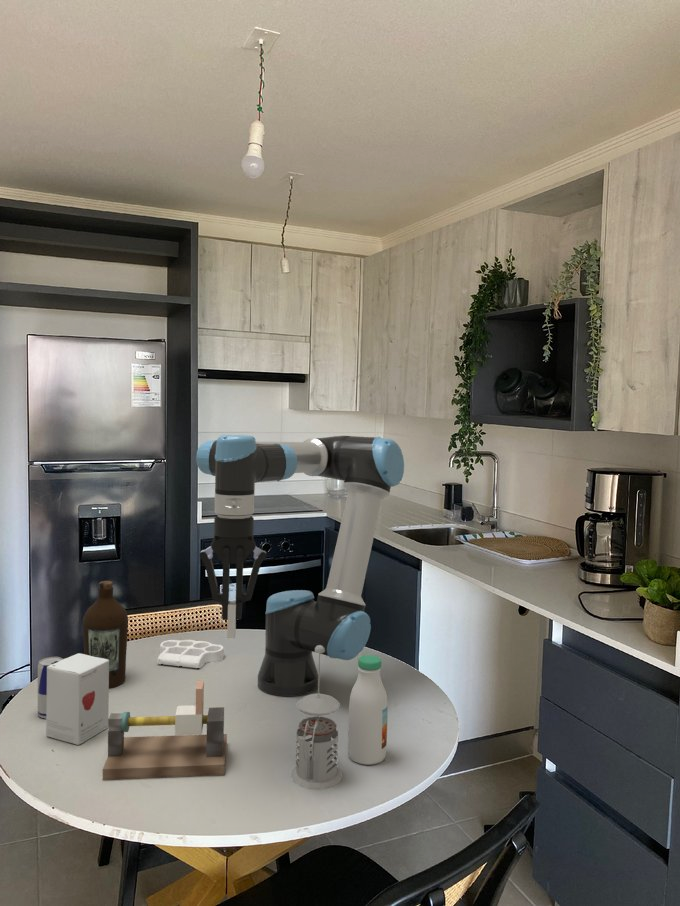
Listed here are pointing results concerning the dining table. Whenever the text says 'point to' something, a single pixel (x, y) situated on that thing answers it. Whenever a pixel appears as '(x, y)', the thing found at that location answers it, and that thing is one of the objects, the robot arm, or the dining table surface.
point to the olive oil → (107, 632)
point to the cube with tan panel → (191, 715)
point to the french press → (317, 741)
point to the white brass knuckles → (189, 653)
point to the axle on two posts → (164, 749)
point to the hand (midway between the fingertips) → (231, 635)
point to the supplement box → (77, 698)
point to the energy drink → (44, 683)
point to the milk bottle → (368, 714)
